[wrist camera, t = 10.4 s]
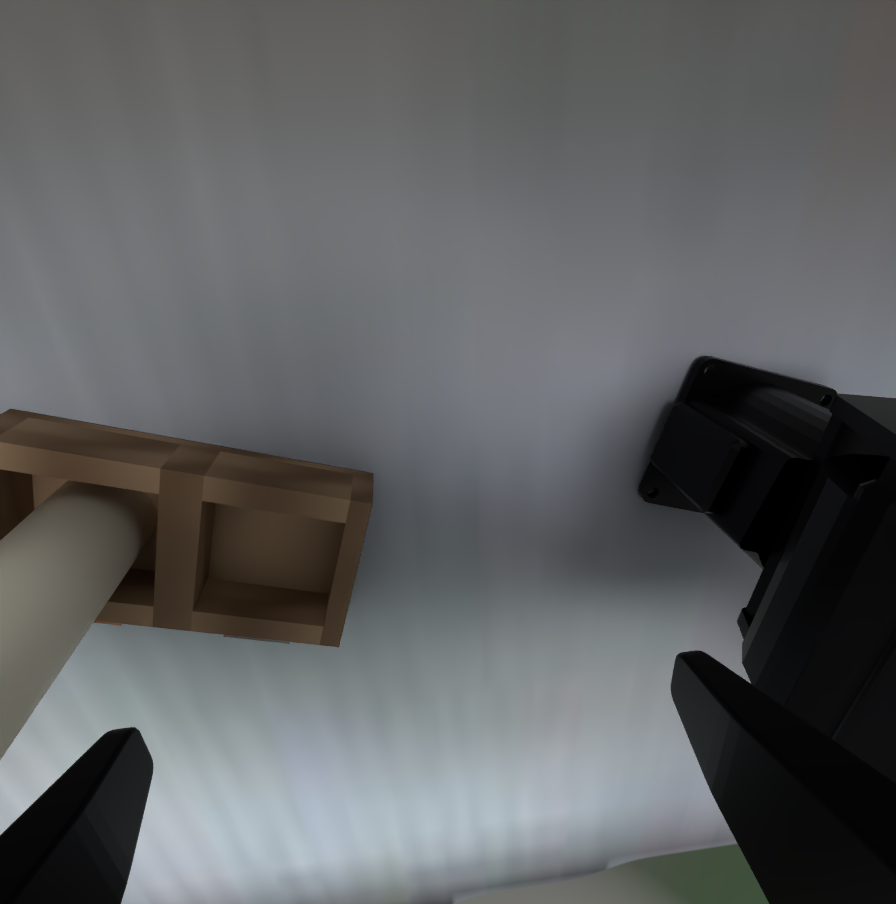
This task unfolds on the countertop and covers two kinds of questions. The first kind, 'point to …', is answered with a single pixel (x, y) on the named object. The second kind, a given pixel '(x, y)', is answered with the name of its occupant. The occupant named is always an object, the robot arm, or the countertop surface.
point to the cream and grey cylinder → (61, 585)
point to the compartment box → (206, 527)
